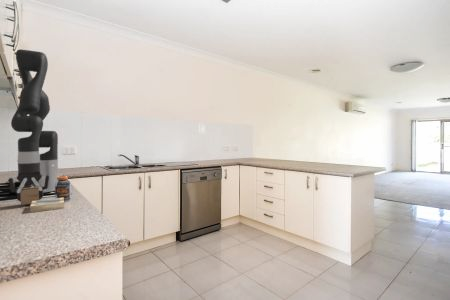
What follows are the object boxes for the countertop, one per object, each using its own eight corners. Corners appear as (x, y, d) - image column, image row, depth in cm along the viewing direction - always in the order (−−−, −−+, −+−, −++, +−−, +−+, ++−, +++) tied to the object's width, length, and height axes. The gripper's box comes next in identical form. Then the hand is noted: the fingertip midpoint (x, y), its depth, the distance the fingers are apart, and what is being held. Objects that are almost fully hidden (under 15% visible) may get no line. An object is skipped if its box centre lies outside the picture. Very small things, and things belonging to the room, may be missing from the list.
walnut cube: (22, 201, 106) (22, 188, 106) (39, 199, 109) (39, 186, 109) (20, 204, 101) (20, 190, 101) (38, 202, 105) (38, 189, 104)
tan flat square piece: (32, 206, 102) (32, 200, 102) (63, 202, 108) (63, 197, 108) (30, 212, 94) (30, 205, 94) (64, 208, 100) (64, 201, 100)
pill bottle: (55, 202, 108) (54, 177, 108) (55, 200, 113) (54, 176, 113) (71, 200, 112) (70, 176, 111) (70, 198, 117) (69, 175, 116)
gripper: (49, 160, 111) (51, 196, 112) (8, 162, 103) (10, 200, 104) (49, 161, 105) (50, 199, 106) (5, 163, 97) (7, 204, 98)
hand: (30, 199), depth 105 cm, fingers closed on walnut cube, 6 cm apart
